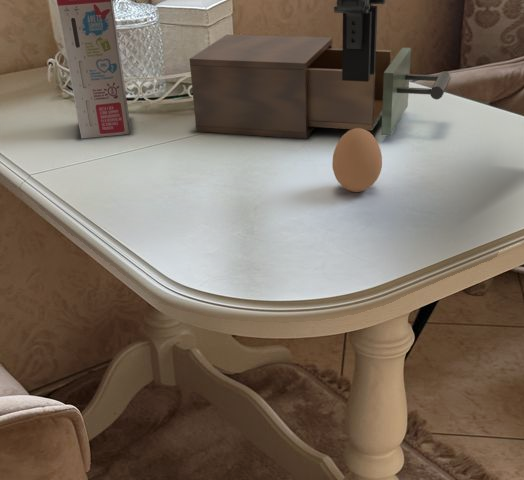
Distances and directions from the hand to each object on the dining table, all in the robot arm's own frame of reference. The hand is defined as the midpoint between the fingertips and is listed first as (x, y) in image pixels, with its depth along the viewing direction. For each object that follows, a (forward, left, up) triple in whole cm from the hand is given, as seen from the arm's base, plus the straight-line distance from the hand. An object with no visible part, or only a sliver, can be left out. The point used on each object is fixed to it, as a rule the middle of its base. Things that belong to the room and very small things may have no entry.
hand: (358, 76), depth 82 cm
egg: (0, 0, -13) cm, 13 cm away
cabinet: (+18, -22, -12) cm, 31 cm away
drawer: (+4, -22, -12) cm, 25 cm away
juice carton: (+39, -14, -13) cm, 43 cm away
